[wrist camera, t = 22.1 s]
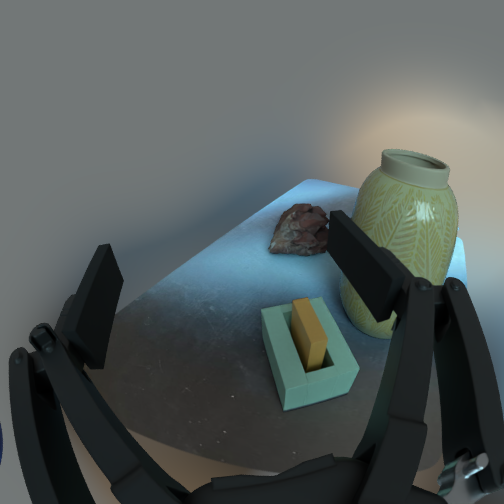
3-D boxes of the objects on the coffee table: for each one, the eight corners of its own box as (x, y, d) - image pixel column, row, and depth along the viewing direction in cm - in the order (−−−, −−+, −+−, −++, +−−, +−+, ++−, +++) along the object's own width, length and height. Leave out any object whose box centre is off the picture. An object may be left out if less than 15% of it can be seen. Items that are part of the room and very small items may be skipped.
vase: (423, 290, 46) (460, 159, 31) (420, 358, 33) (492, 196, 19) (346, 271, 53) (361, 138, 38) (322, 333, 41) (343, 160, 26)
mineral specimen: (283, 254, 68) (341, 246, 61) (261, 267, 57) (332, 259, 50) (273, 209, 67) (332, 197, 60) (249, 213, 56) (320, 197, 48)
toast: (317, 382, 33) (328, 339, 27) (303, 386, 33) (311, 343, 27) (302, 344, 39) (307, 296, 33) (289, 347, 38) (292, 300, 33)
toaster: (347, 394, 31) (359, 368, 27) (283, 412, 30) (285, 389, 26) (314, 323, 43) (319, 292, 39) (261, 334, 42) (259, 303, 38)
